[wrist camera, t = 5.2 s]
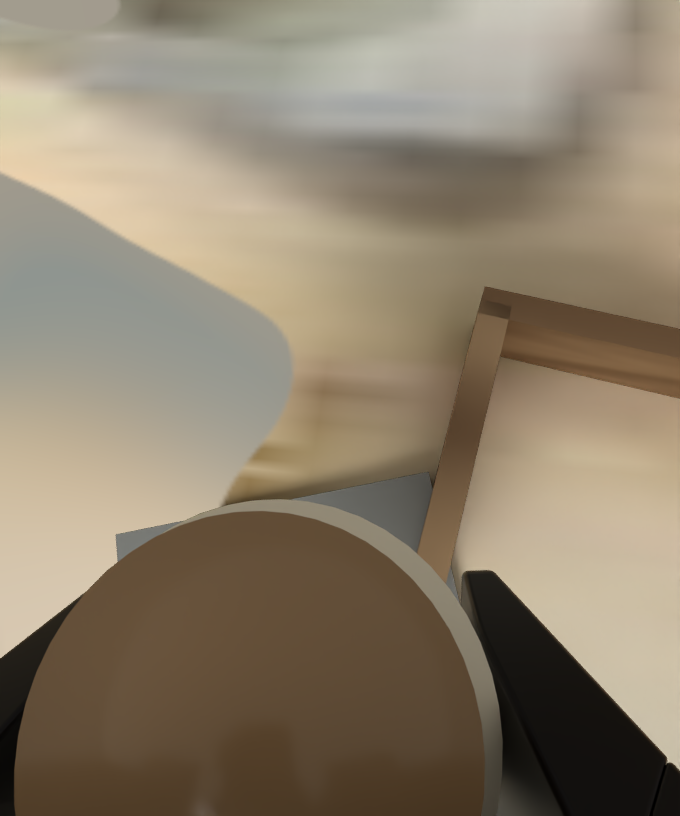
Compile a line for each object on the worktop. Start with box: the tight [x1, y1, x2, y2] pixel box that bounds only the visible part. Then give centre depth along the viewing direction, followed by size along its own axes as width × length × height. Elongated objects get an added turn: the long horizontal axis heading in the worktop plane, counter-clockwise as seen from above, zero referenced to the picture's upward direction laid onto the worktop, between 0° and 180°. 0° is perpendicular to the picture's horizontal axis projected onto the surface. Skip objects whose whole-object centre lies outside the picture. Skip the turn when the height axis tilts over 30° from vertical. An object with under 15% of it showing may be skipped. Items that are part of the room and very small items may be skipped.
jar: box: [14, 499, 503, 816], centre depth 10 cm, size 5×5×10 cm
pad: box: [116, 472, 460, 604], centre depth 21 cm, size 11×11×1 cm
